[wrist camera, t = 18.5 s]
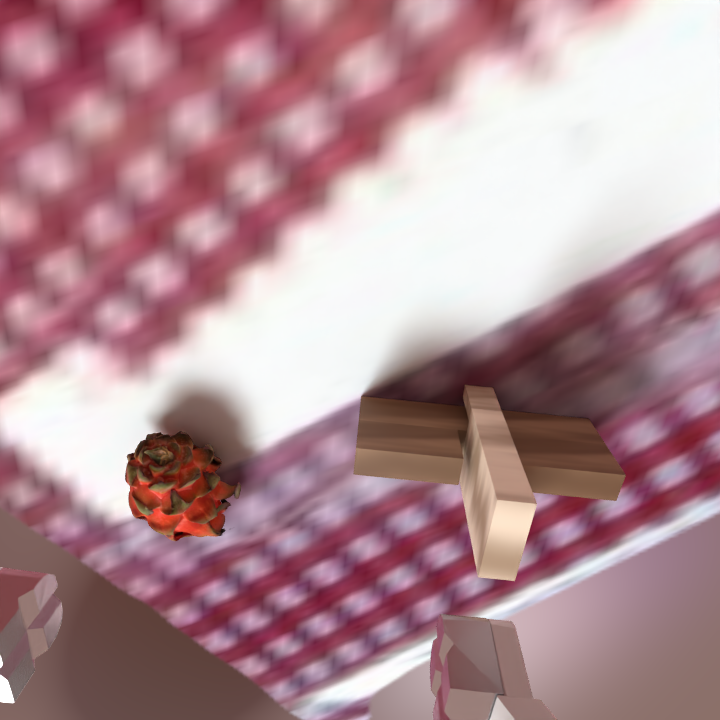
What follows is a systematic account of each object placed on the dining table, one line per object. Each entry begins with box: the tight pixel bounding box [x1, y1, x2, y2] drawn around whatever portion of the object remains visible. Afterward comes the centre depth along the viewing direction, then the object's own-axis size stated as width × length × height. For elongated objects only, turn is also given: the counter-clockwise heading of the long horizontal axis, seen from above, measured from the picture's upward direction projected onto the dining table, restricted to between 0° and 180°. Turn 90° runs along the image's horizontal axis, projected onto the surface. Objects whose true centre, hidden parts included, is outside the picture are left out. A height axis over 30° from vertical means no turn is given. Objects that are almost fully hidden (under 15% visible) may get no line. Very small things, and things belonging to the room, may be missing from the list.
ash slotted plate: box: [459, 385, 537, 581], centre depth 40 cm, size 6×2×15 cm, turn 175°
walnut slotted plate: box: [354, 396, 626, 501], centre depth 43 cm, size 2×20×8 cm, turn 85°
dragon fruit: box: [125, 431, 241, 541], centre depth 48 cm, size 8×8×12 cm
